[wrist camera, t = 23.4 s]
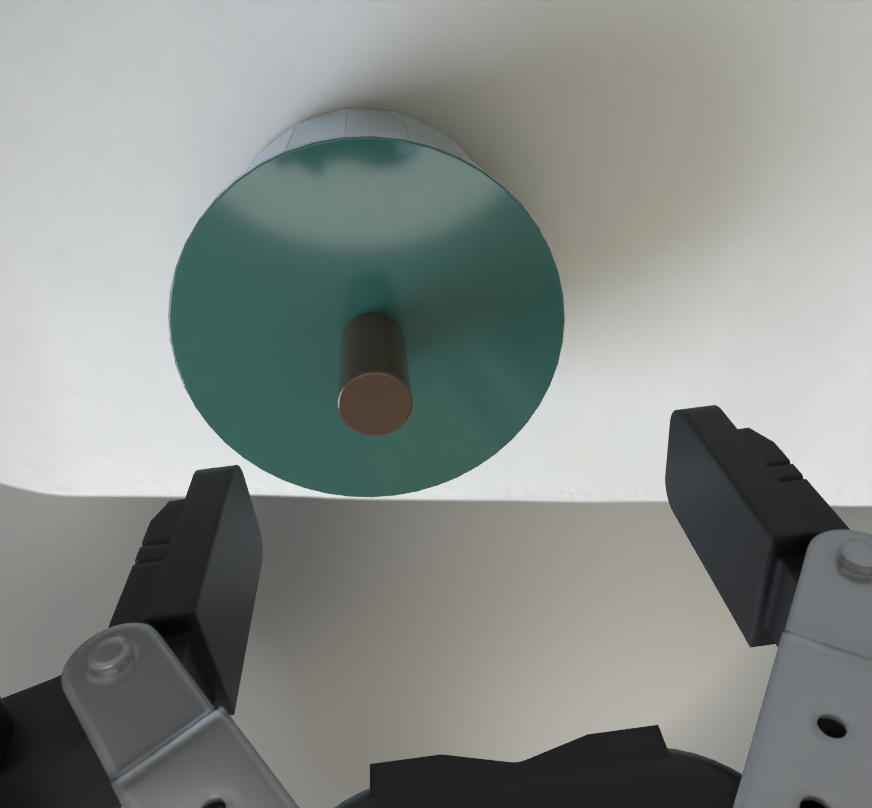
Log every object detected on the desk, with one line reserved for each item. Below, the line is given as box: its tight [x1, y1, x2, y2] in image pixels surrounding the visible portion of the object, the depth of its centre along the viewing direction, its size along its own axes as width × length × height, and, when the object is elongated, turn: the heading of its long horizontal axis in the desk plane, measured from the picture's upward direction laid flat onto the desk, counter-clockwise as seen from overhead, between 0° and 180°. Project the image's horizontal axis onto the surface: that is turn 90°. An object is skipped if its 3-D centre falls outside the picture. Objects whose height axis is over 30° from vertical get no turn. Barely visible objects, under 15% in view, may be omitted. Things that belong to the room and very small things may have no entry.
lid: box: [168, 134, 564, 497], centre depth 27 cm, size 16×16×6 cm
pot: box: [247, 109, 476, 171], centre depth 34 cm, size 15×15×10 cm
